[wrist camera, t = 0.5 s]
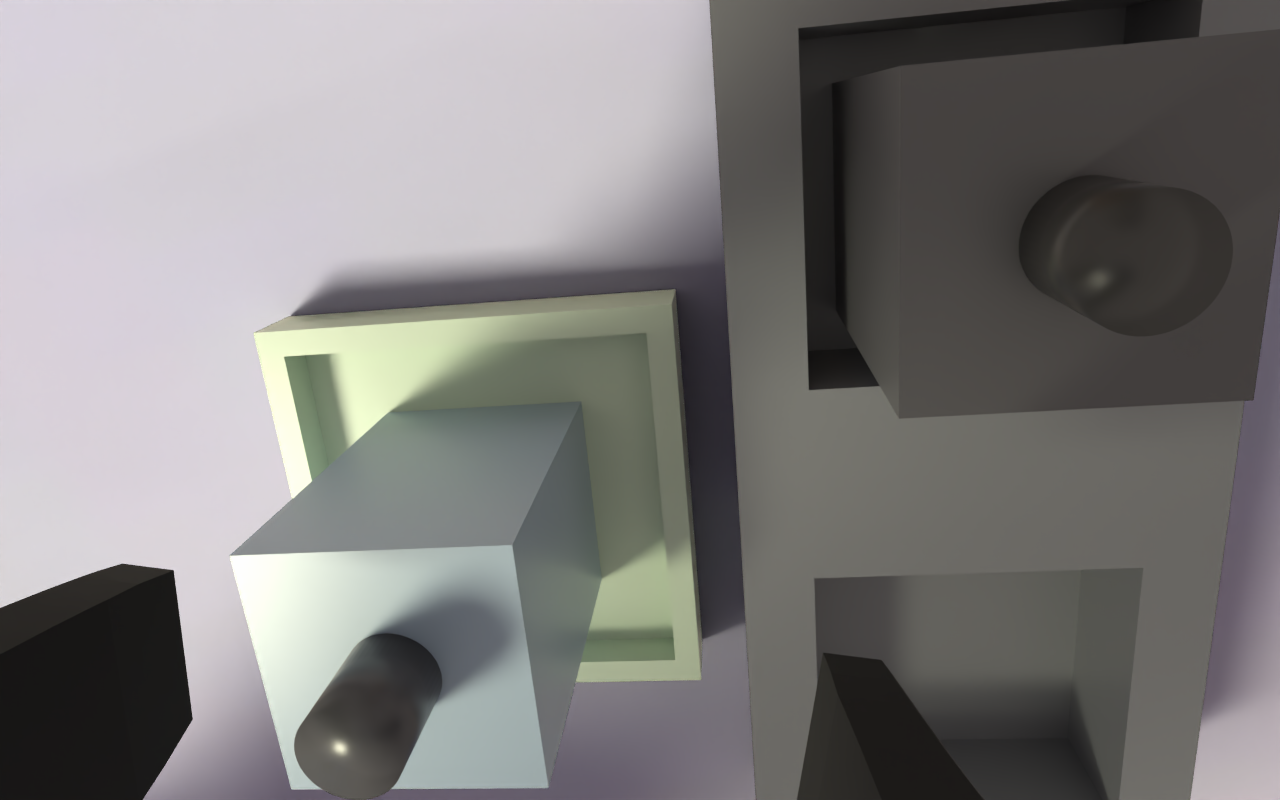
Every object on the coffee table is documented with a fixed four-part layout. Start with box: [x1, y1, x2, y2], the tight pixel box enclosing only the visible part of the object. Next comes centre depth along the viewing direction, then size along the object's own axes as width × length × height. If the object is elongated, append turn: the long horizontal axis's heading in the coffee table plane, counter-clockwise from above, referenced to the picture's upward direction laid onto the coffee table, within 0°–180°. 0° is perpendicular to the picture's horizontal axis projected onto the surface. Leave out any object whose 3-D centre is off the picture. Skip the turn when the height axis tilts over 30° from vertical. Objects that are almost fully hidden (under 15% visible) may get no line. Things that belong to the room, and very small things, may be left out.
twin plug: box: [832, 29, 1280, 419], centre depth 12 cm, size 4×4×8 cm
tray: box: [254, 289, 702, 682], centre depth 18 cm, size 8×8×1 cm
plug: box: [230, 401, 602, 800], centre depth 14 cm, size 4×4×8 cm
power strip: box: [709, 0, 1280, 800], centre depth 16 cm, size 8×17×3 cm, turn 5°
